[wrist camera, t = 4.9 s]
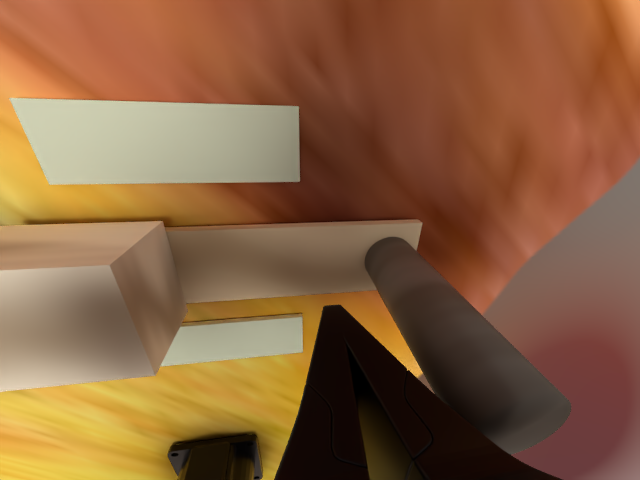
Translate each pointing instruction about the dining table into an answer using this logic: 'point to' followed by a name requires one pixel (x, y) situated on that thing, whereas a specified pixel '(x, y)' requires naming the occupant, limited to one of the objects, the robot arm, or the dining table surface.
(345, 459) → the robot arm
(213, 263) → the sled
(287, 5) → the dining table surface
